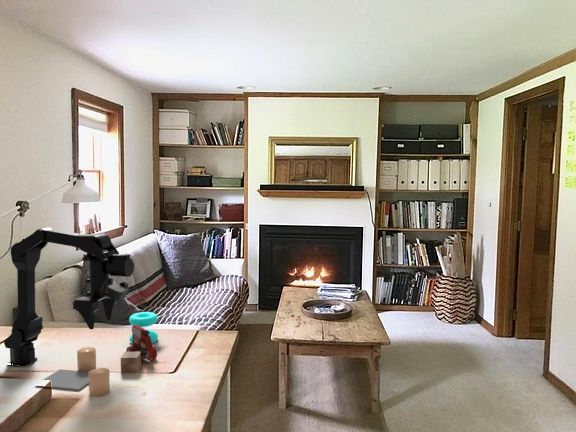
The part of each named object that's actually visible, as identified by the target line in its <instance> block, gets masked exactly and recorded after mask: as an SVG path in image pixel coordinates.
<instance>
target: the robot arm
mask: <svg viewBox="0 0 576 432" xmlns="http://www.w3.org/2000/svg"><path fill="white" fill-rule="evenodd" d="M49 243H51V244H56V245H62V246H66V247H67V246H68V247H74V248H77V249H79V250H80V251H82V252H84V253H86V255H84V256H83V257H82V258H81V261H84V262H85V261H87V262H88V275H89V278H86V280H85V282H86V284H89V291H87V292H86V296H81V297H79V298H76V299H74V300H73V301H72V310H75V311H76V312H78V313H79V315H81V317H82V319H83V320H84V322H85V324H86V325H87V327H88V329H89V330H94V328H95V316H96V315H95V314H96V312H97V311H98V310H99V302H100V301H101V303H102V307H103V311H104V314H105V317H106V320H107V321H111V320H112V317H113V313H114V310H115V308H116V304H117V302H120V301H122V300H125V299H126V296H127V294H128V293H129V292H130V290H129V288H130V287H129V282H127V281H126V280H125V281H121V282H120V283H116V282H114V279H113V277H125V278H126V277H127V278H130V277H131V276H132V275H133V273H134V270H135V263H134V261H133V259H132V257H131V254H130V253H125V254H123V253H122V254H120V252H119V251H118V250H117V248H116V247H115V245H114V244H113V242H112V240H111V238H110V236H109V235H108V234H107V233H85V234H84V233H78V232H77V233H76V232H71V231H66V230H60V229H55V228H51V227H43V228H38V229H36V230H35V231H34V232H33V233H32V234H30V235H28V236H27V237H25V238H23V239H22V240H21V241H19V242H15V243H14V244H12V245H11V247H10V257H11V262H12V264H13V266H14V267H15V268H16V270H17V271H16V272H17V275H16V276H17V277H16V278H17V281H16V282H17V285H16V286H17V288H16V289H17V314H16V317H15V318H14V320H13V322H12V324H11V325H12V327H11V334H10V335H8V337H7V338H6V339H5V340H4V341H3V345H4V346H5V349H9V356H10V357H9V361H8V363H11V365H12V364H13V365H19V366H18V367H20V366H25V367H26V365H27V366H29V365H30V364H32V363H34V362H35V361H37V360H38V359H39V358H38V357H36V349H35V347H34V345H35V343H34V341H37V340H38V337H39V335H40V334H41V333H42V330H43V329H44V326H43V320H44V318H43V317H42V316H39V315H38V314H37V313H36V267H37V265H38V264H39V261H40V258H41V253H42V250H43V249H45V248H46V246H47V245H48V244H49Z"/></svg>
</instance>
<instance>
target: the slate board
mask: <svg viewBox="0 0 576 432" xmlns="http://www.w3.org/2000/svg"><path fill="white" fill-rule="evenodd" d="M42 380H51V381H52V387H53V388H52V389H54V388H55V389H56V390H67V391H76V392H80V391H81V390H83V389H84V388H86V387H87V386H89V372H84V371H78V370H70V369H61V368H60V369H57V370H56V371H55V372H53V373H51V374H50V375H48V376H46V377H45V378H44V379H42Z"/></svg>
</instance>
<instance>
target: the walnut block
mask: <svg viewBox="0 0 576 432" xmlns="http://www.w3.org/2000/svg"><path fill="white" fill-rule="evenodd" d="M141 368H142V362H141V352H126V351H124V352H123V354H122V355H121V357H120V374H138V373H139V371H140V370H139V369H141Z"/></svg>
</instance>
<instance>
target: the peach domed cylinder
mask: <svg viewBox="0 0 576 432" xmlns="http://www.w3.org/2000/svg"><path fill="white" fill-rule="evenodd" d="M76 354H77V355H76V357H77V358H76V359H77V362H76V363H77V371H84V372H90V371H91V370H93V369H97V349H96V347H91V346H86V347H81V348H79V349H77V350H76Z"/></svg>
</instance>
